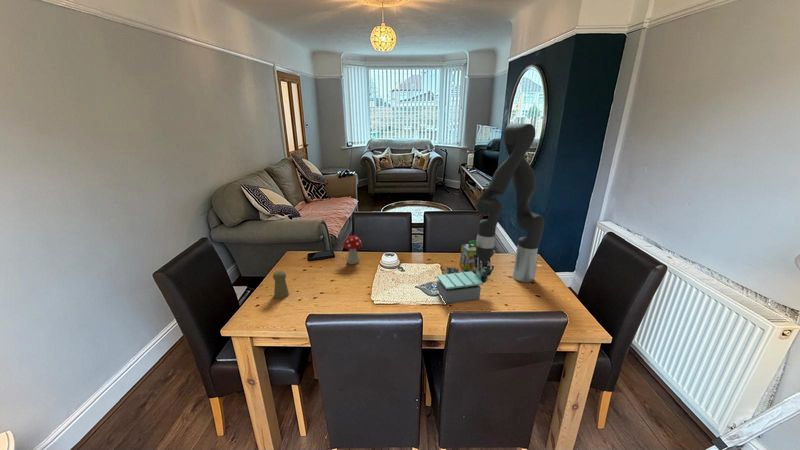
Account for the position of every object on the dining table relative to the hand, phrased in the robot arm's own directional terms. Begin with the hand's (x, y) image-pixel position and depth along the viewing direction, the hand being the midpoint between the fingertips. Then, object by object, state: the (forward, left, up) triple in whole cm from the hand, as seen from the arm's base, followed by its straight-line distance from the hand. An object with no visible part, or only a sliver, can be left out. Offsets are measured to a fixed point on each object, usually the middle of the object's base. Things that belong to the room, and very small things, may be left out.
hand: (481, 280), depth 143 cm
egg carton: (+6, -16, -7) cm, 19 cm away
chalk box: (-8, -24, -7) cm, 27 cm away
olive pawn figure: (+85, -17, -7) cm, 87 cm away
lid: (+8, 0, +1) cm, 8 cm away
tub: (+11, 0, -7) cm, 13 cm away
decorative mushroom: (+51, -43, -7) cm, 68 cm away
